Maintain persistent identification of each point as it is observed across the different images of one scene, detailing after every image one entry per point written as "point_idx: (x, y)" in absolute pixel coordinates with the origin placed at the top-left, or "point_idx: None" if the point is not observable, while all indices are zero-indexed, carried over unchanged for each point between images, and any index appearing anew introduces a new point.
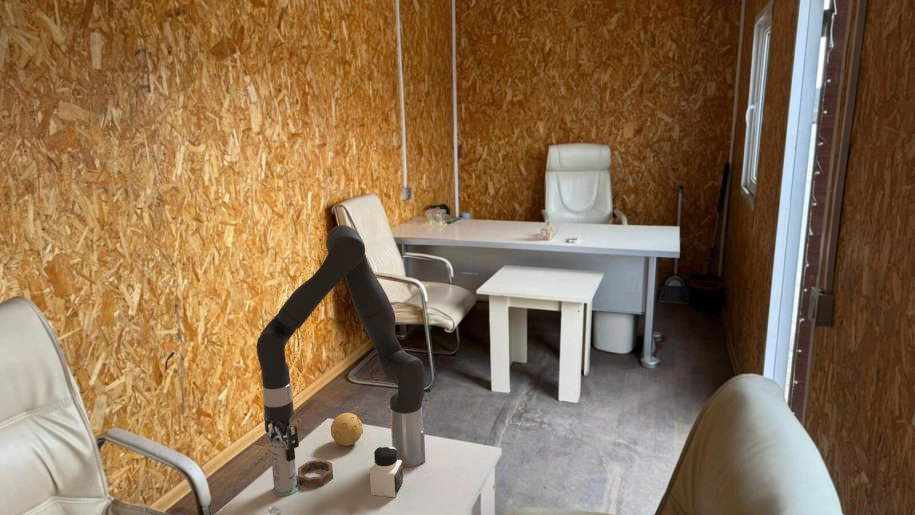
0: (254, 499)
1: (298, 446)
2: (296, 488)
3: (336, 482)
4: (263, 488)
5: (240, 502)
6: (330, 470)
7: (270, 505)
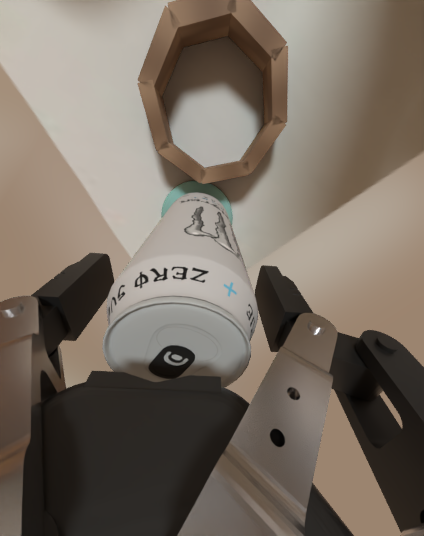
0: None
1: (390, 339)
2: (224, 203)
3: (304, 71)
4: None
5: None
6: (277, 51)
7: None
